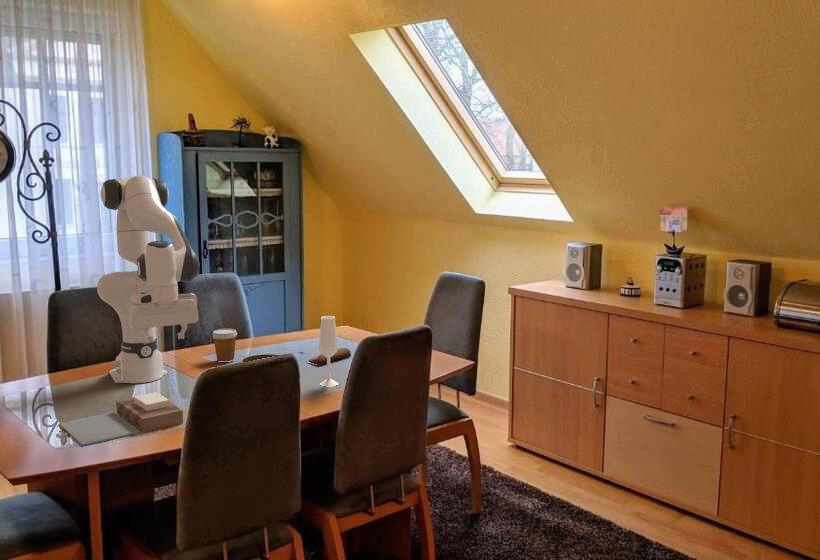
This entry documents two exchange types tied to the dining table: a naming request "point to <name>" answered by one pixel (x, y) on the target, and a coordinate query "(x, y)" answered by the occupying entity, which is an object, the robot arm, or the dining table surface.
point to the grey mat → (98, 428)
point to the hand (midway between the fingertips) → (165, 340)
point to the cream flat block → (151, 401)
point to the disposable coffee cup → (225, 344)
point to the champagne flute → (328, 345)
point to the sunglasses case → (339, 354)
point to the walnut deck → (148, 415)
